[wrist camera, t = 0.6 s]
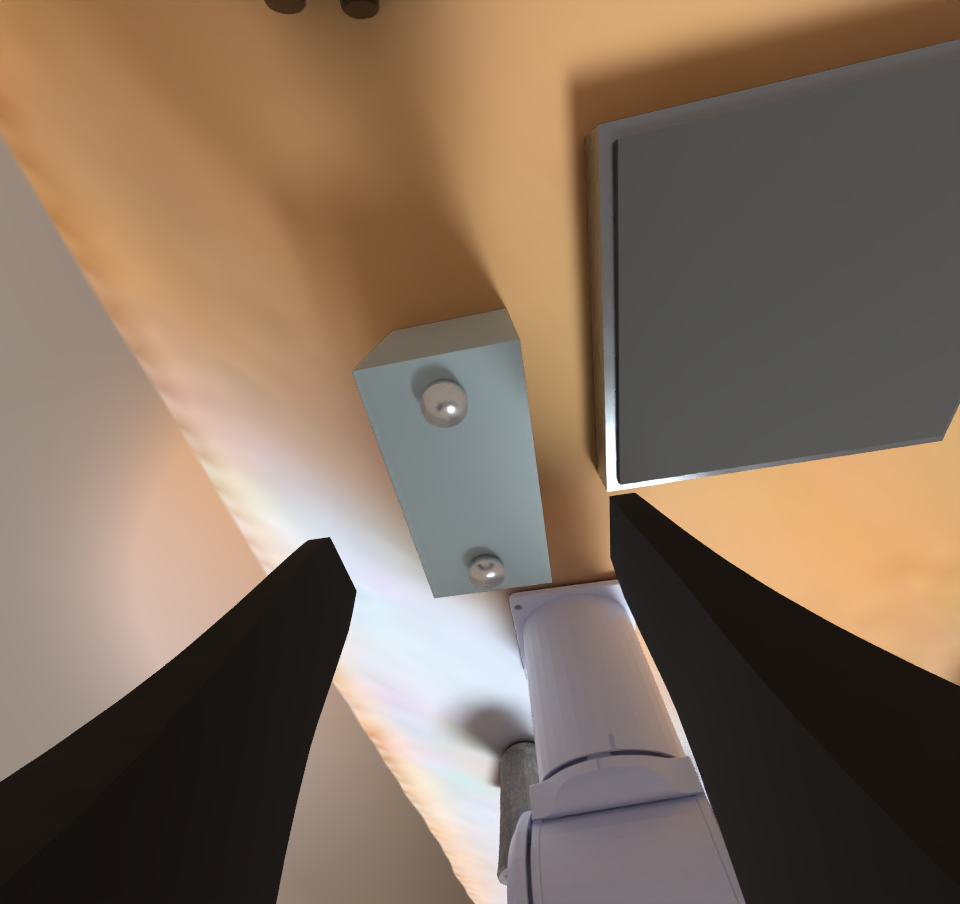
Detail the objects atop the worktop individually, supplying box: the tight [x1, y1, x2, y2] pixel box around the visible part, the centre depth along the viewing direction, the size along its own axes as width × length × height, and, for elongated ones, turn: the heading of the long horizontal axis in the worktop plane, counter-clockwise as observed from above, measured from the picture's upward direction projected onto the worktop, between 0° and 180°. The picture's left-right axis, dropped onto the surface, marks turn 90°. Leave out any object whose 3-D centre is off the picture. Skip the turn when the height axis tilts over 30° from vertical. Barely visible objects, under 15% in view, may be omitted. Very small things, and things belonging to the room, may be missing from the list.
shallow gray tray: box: [584, 39, 960, 492], centre depth 15 cm, size 14×15×2 cm
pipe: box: [497, 742, 539, 885], centre depth 32 cm, size 6×13×8 cm, turn 0°
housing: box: [352, 308, 552, 598], centre depth 16 cm, size 10×5×6 cm, turn 11°
